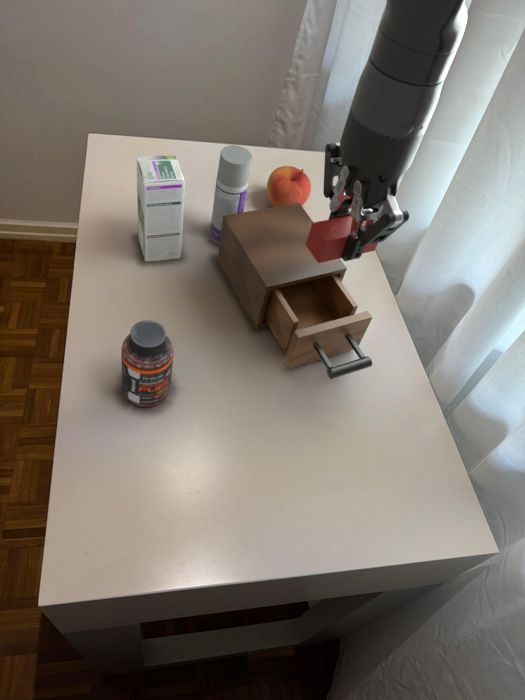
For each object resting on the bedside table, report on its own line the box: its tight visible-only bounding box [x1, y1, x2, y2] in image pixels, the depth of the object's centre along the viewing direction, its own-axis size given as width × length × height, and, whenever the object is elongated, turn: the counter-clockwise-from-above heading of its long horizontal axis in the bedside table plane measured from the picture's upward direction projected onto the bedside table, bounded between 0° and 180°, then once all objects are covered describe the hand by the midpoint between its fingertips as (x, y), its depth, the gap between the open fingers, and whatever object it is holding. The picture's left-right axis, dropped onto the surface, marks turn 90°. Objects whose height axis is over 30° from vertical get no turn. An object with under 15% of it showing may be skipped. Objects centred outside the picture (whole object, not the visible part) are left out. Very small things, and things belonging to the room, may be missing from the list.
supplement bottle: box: [120, 319, 174, 408], centre depth 68 cm, size 6×6×11 cm
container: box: [209, 144, 253, 245], centre depth 87 cm, size 5×5×15 cm
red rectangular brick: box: [306, 216, 379, 263], centre depth 67 cm, size 8×3×3 cm, turn 116°
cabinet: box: [216, 203, 348, 330], centre depth 84 cm, size 15×13×9 cm
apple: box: [266, 165, 312, 207], centre depth 96 cm, size 7×7×8 cm
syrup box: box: [136, 155, 186, 262], centre depth 83 cm, size 6×6×14 cm
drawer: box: [264, 275, 373, 380], centre depth 78 cm, size 19×11×7 cm, turn 25°
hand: (341, 246), depth 68 cm, fingers closed on red rectangular brick, 3 cm apart
